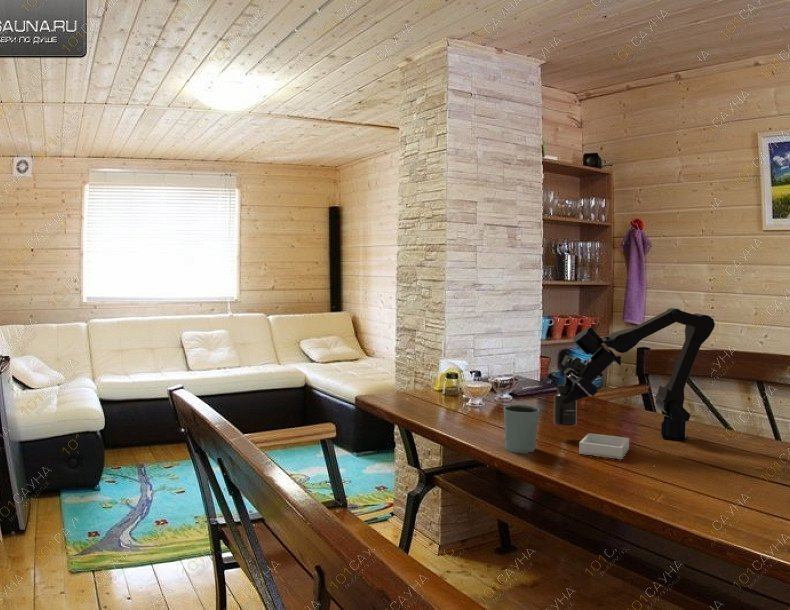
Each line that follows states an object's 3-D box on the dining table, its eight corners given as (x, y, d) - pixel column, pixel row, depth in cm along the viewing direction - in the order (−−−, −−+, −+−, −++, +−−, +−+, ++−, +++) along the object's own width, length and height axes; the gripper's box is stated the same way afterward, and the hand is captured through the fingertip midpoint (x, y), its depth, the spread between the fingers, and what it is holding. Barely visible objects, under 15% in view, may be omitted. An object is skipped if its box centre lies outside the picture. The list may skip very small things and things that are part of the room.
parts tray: (628, 449, 194) (629, 438, 193) (621, 460, 184) (622, 447, 183) (588, 444, 199) (588, 433, 199) (579, 454, 189) (579, 442, 189)
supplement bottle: (571, 426, 200) (571, 385, 201) (550, 424, 204) (549, 385, 206) (580, 425, 206) (580, 385, 207) (559, 423, 210) (559, 385, 211)
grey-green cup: (496, 446, 198) (497, 405, 197) (526, 442, 201) (527, 403, 200) (514, 455, 188) (515, 413, 187) (545, 452, 192) (546, 410, 191)
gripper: (570, 342, 214) (535, 377, 215) (586, 350, 195) (548, 388, 196) (594, 366, 215) (560, 401, 215) (613, 377, 196) (575, 414, 197)
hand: (560, 400), depth 206 cm, fingers closed on supplement bottle, 6 cm apart
